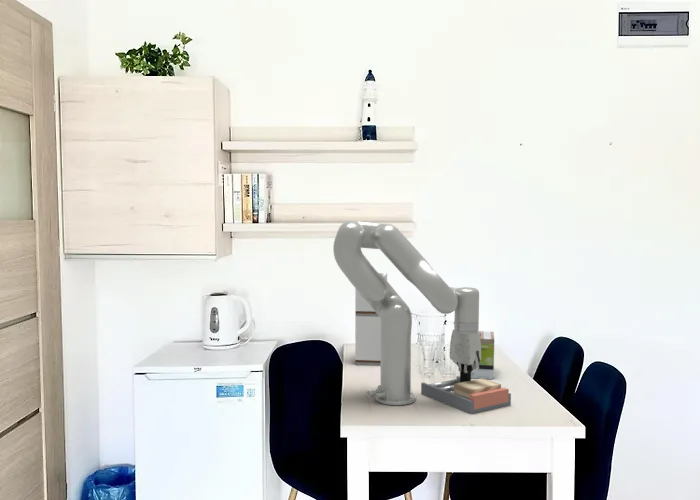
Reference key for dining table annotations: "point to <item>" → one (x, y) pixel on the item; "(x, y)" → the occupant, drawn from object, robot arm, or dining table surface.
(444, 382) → the rollers
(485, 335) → the tea box
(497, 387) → the oak slab
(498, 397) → the end stop
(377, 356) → the tall white box
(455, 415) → the dining table surface
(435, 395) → the roller track
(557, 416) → the dining table surface
